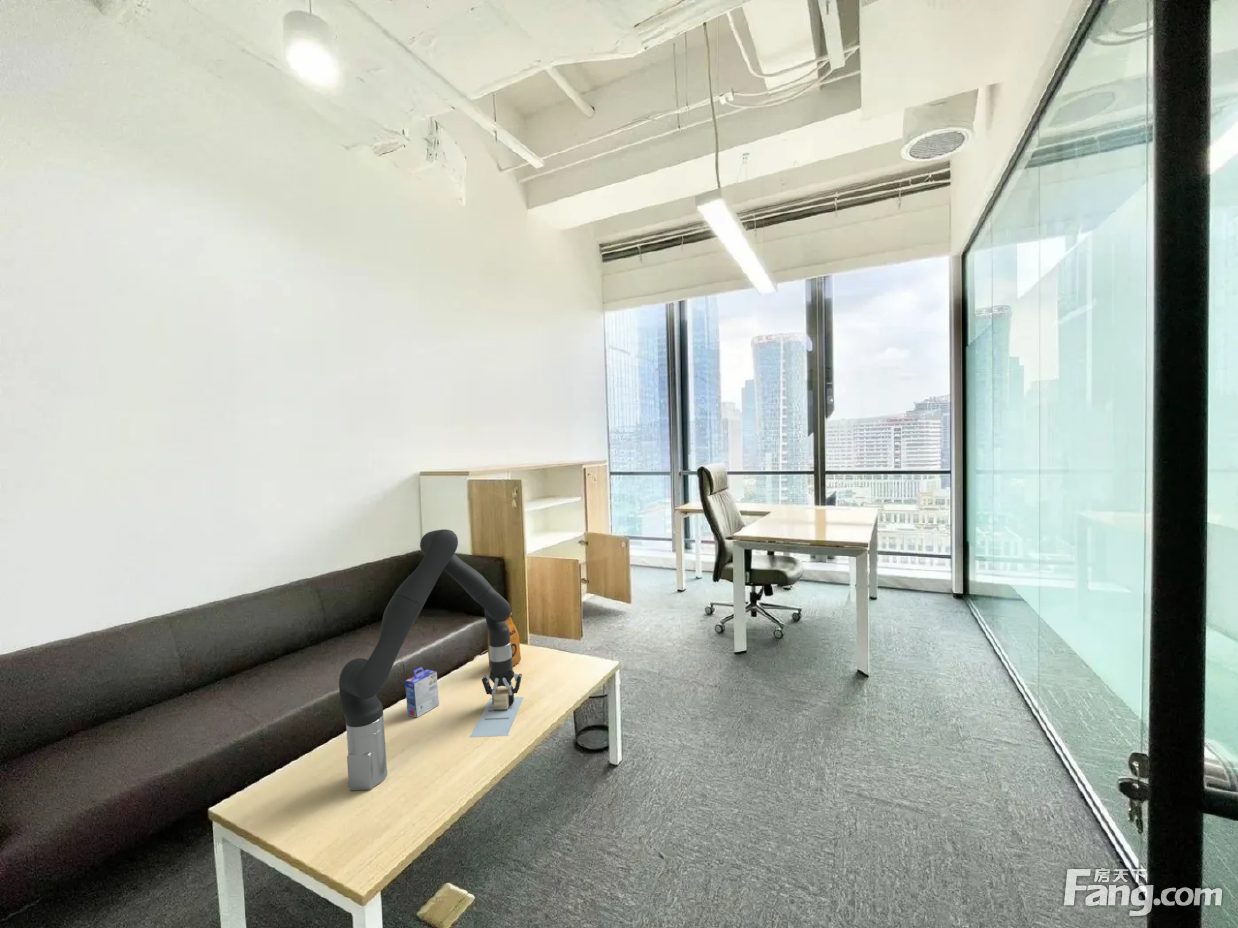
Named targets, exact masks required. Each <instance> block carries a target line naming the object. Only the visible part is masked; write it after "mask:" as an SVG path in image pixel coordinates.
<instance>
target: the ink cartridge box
mask: <svg viewBox="0 0 1238 928" xmlns="http://www.w3.org/2000/svg"><path fill="white" fill-rule="evenodd" d="M418 671H419V672H418ZM417 672H418V673H417ZM437 674H438V673H437V671H436V670H432V669H425V670H424V668H423V667H422V666H420V667H418V668H416V669H413V676H412V677H409V678H408V679H406V680H405V681H404V687H405V697H406V708H407V716H410V717H413V718H415V719H417V718H419V717H421V716H422V715H424V714H426V713H427V712H429V711H430V710H433V709H434V708H436V707H438V706H439V705H440V700H439V698H440V697H439V685H438V675H437Z"/></svg>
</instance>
